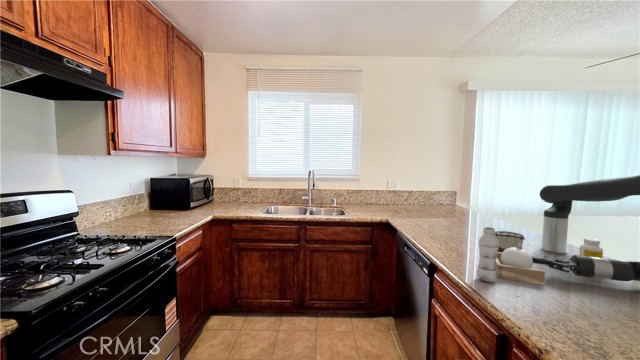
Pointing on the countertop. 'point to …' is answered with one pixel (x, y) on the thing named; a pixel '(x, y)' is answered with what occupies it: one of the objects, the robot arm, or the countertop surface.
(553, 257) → the robot arm
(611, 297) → the countertop surface
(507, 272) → the bay
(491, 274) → the plastic bottle
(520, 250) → the ornament
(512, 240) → the food container
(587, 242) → the supplement bottle
